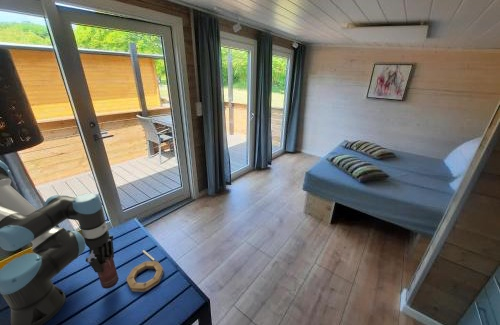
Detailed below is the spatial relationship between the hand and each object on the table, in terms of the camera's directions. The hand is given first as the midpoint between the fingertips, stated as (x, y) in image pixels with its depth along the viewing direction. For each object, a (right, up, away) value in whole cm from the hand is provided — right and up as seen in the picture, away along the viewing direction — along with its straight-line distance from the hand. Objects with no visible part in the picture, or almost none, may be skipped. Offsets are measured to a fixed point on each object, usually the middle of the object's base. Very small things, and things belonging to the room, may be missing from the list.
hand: (109, 277), depth 88 cm
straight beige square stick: (+7, 0, +19) cm, 21 cm away
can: (0, -3, +1) cm, 4 cm away
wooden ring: (+11, -5, +8) cm, 15 cm away
